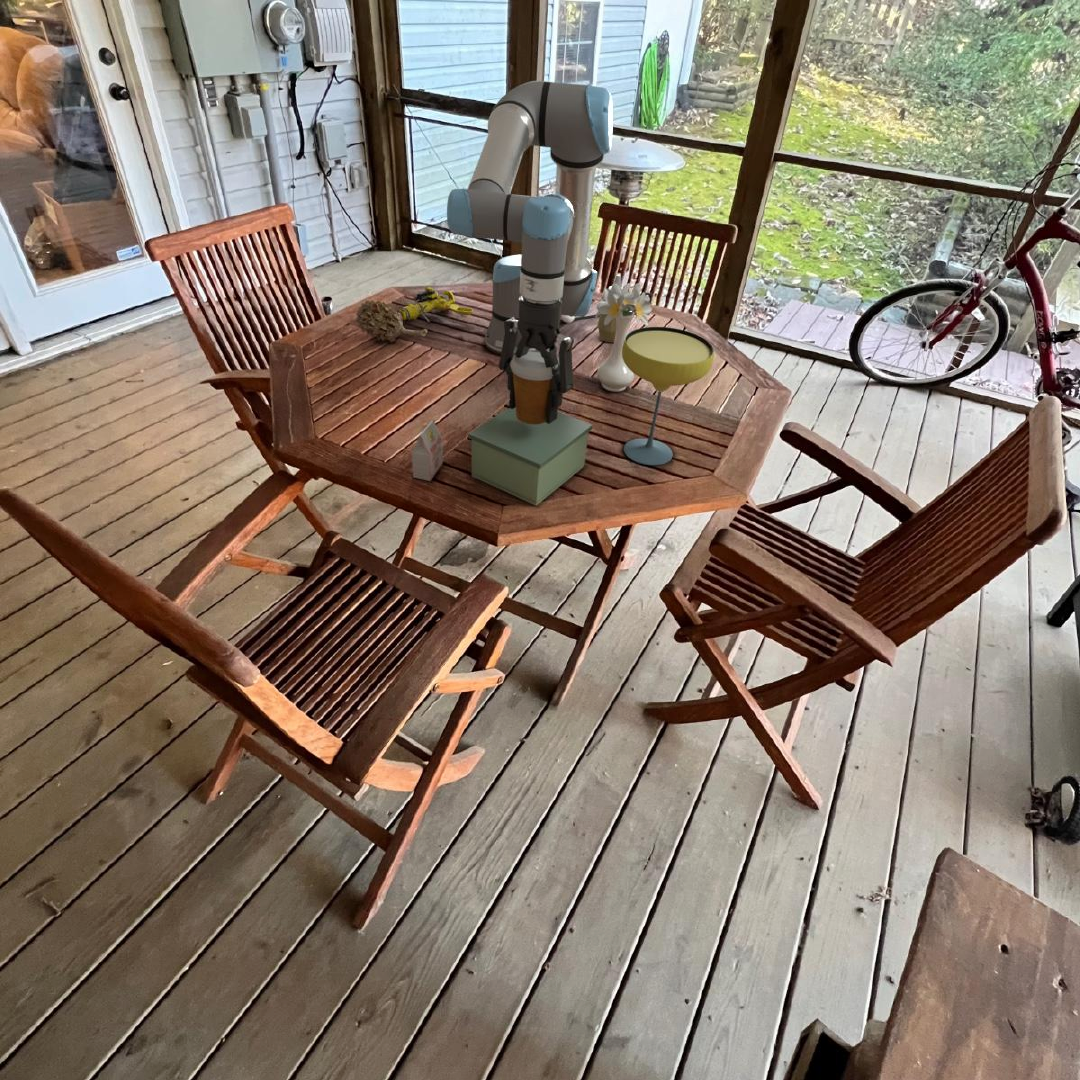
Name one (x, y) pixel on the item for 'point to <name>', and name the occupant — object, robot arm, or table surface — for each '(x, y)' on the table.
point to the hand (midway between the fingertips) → (532, 413)
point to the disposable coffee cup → (531, 386)
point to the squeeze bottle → (609, 330)
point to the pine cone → (382, 321)
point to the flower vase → (620, 331)
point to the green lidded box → (528, 454)
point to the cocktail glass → (663, 375)
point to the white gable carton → (427, 453)
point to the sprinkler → (432, 304)
